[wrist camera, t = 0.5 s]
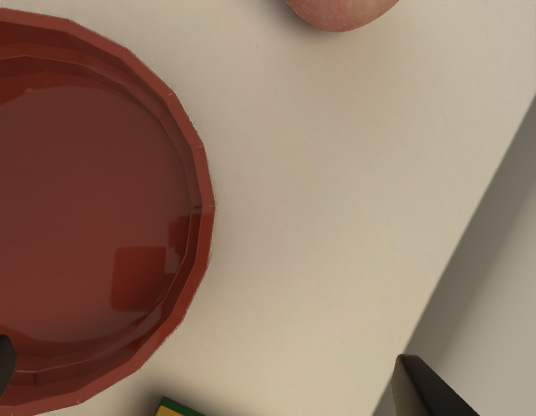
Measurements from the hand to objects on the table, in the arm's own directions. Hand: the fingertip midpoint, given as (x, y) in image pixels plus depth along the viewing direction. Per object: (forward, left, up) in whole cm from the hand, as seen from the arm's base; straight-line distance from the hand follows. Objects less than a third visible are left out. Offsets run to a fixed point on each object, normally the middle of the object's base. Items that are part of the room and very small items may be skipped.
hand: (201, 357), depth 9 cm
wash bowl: (+5, +8, -13) cm, 16 cm away
